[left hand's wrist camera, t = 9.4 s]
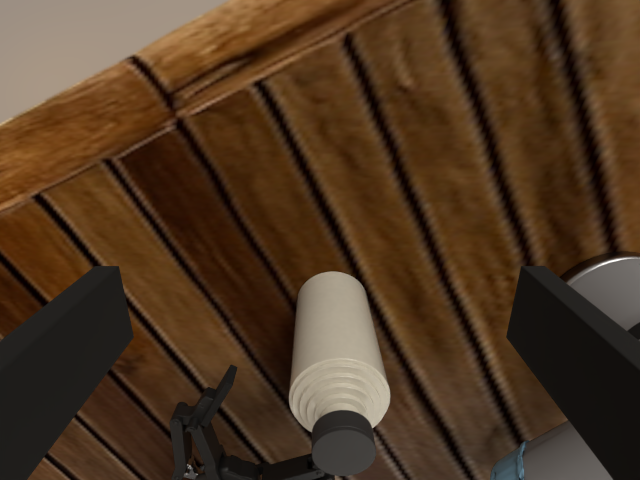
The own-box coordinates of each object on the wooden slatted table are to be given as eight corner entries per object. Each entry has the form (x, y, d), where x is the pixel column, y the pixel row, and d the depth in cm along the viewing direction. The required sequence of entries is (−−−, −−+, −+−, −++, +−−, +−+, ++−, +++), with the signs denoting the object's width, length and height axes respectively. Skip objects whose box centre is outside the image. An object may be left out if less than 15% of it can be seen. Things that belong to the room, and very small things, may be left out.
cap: (338, 462, 29) (339, 485, 27) (299, 430, 28) (298, 451, 26) (384, 434, 28) (388, 456, 26) (346, 399, 27) (348, 419, 25)
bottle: (327, 343, 46) (335, 503, 29) (282, 299, 44) (260, 445, 26) (381, 305, 44) (425, 452, 27) (336, 257, 42) (352, 383, 24)
